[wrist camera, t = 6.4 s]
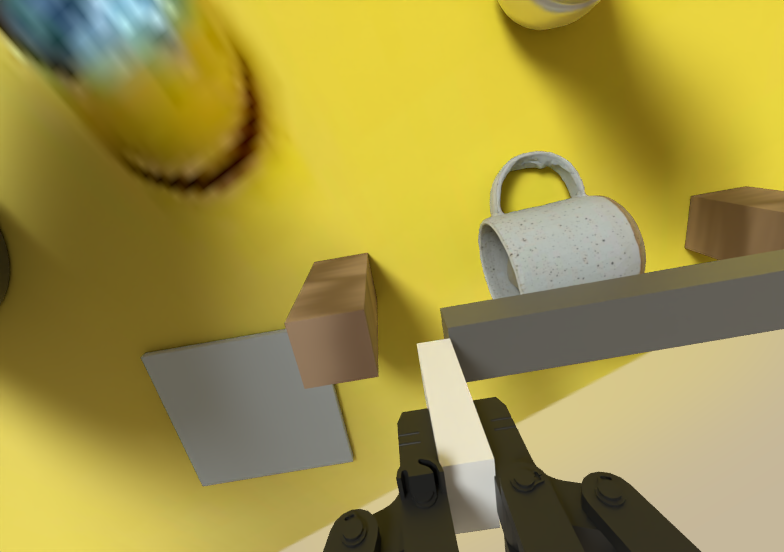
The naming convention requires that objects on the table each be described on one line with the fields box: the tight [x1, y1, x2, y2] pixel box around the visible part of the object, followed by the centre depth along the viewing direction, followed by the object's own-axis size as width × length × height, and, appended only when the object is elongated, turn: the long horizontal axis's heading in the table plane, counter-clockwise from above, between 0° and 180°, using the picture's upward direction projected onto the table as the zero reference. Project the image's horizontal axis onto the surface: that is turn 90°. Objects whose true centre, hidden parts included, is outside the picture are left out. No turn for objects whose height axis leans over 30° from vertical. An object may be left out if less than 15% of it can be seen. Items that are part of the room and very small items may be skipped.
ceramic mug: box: [478, 151, 646, 299], centre depth 24 cm, size 11×8×8 cm
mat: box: [141, 329, 353, 486], centre depth 31 cm, size 14×14×1 cm
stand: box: [285, 186, 784, 389], centre depth 23 cm, size 32×4×10 cm, turn 100°
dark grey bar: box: [440, 249, 784, 382], centre depth 17 cm, size 22×3×2 cm, turn 100°
